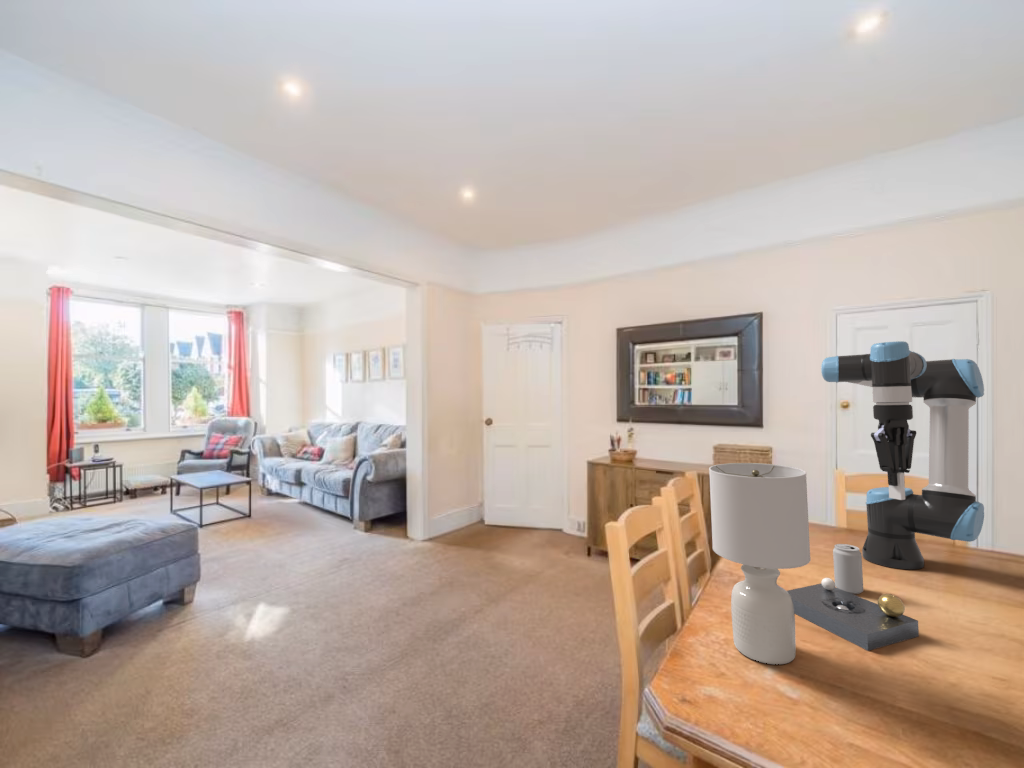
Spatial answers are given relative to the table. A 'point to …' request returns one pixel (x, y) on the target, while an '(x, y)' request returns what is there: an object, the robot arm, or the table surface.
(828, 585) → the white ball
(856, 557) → the beverage can
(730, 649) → the table surface
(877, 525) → the robot arm
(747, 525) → the lamp
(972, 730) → the table surface
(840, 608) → the steel ball
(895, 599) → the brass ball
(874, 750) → the table surface
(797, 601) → the plate
